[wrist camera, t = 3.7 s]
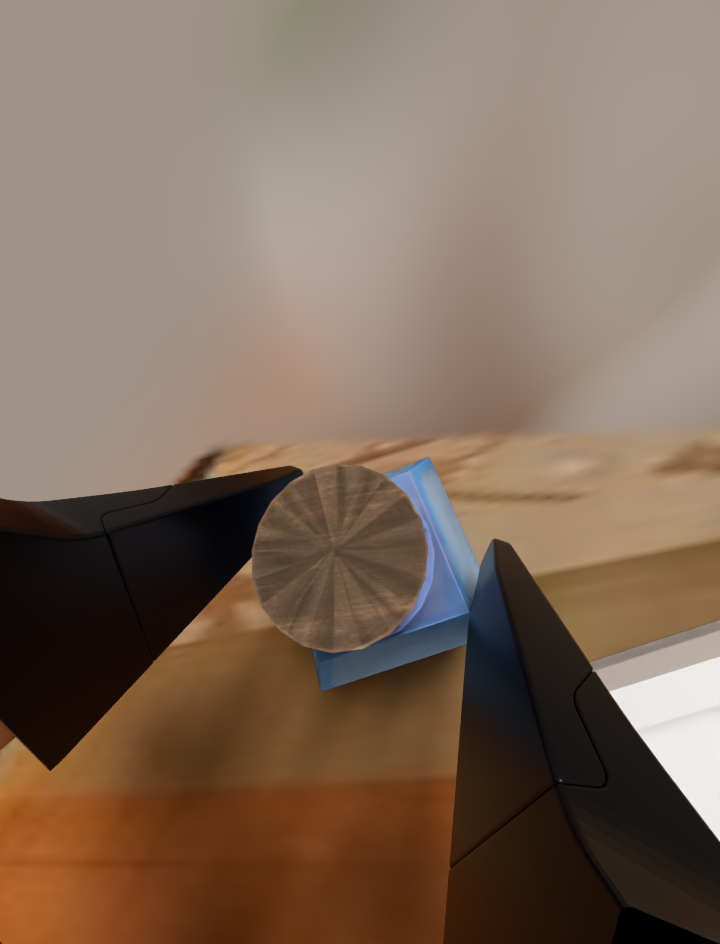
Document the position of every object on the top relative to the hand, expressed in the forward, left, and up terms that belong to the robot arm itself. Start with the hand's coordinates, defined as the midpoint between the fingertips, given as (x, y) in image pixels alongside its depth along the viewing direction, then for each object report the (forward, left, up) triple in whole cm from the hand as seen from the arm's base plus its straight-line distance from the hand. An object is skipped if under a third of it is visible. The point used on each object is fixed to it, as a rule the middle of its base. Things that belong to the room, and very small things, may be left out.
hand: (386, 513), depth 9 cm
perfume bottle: (-1, +1, -9) cm, 9 cm away
